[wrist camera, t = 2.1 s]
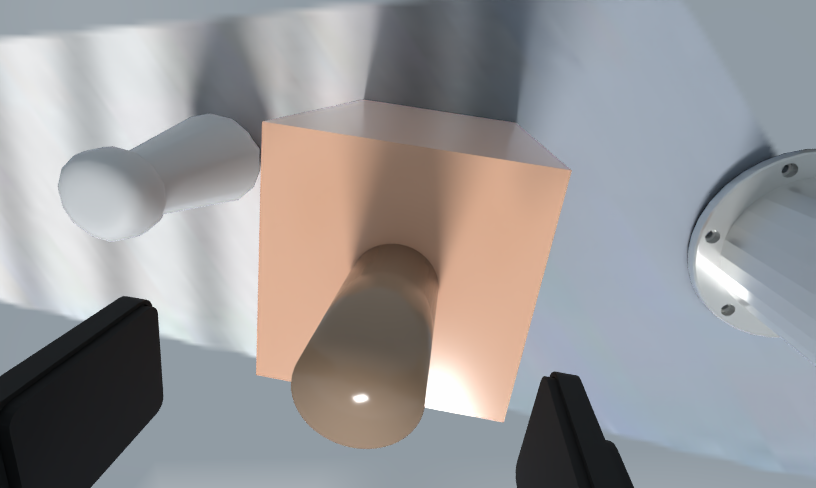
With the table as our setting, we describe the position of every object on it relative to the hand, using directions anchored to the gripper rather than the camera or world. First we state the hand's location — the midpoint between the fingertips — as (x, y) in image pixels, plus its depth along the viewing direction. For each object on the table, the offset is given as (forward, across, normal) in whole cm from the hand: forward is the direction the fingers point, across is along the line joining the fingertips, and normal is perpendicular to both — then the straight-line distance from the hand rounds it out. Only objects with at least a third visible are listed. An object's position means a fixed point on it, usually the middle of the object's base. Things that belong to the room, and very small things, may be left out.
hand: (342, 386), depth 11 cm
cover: (+22, -1, 0) cm, 22 cm away
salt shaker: (+22, +13, 0) cm, 26 cm away
